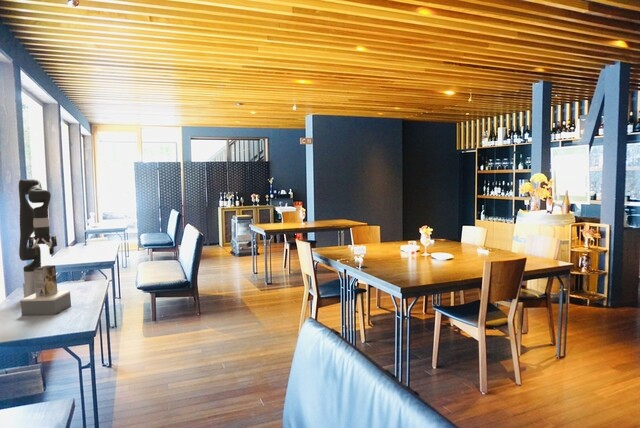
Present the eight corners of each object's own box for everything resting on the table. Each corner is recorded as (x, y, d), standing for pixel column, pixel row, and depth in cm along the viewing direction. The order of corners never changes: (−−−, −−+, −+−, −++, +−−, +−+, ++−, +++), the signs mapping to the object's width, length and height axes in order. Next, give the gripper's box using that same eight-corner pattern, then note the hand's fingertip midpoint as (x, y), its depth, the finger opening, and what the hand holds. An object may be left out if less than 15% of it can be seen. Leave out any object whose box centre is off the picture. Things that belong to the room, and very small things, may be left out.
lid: (20, 301, 239) (20, 299, 239) (38, 293, 255) (38, 291, 255) (54, 300, 239) (54, 298, 239) (70, 292, 255) (70, 290, 255)
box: (21, 315, 239) (20, 301, 239) (39, 307, 255) (38, 293, 255) (55, 314, 240) (54, 300, 239) (71, 306, 256) (70, 292, 255)
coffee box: (48, 292, 252) (46, 265, 251) (58, 292, 251) (55, 265, 249) (35, 297, 243) (33, 268, 242) (45, 297, 242) (43, 268, 240)
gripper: (58, 224, 248) (60, 253, 250) (32, 225, 248) (34, 253, 249) (50, 226, 241) (52, 255, 242) (24, 226, 240) (26, 256, 242)
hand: (43, 254), depth 246 cm, fingers open, 8 cm apart
